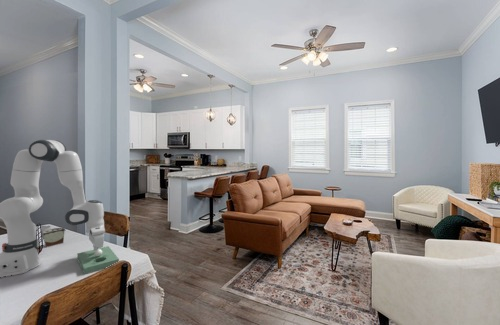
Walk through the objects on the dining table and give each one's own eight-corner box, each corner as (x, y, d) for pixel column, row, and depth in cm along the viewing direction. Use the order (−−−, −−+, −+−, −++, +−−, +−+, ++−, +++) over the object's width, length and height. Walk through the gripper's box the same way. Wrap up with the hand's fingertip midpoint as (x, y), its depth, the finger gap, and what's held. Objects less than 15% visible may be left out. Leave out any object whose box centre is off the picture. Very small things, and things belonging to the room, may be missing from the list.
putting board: (84, 274, 121) (84, 268, 121) (77, 258, 138) (77, 253, 138) (118, 264, 132) (118, 259, 132) (108, 250, 149) (108, 246, 149)
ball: (93, 248, 134) (92, 253, 135) (95, 254, 131) (94, 259, 133) (101, 246, 137) (100, 251, 138) (103, 251, 134) (102, 256, 136)
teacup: (47, 240, 166) (47, 229, 165) (24, 243, 161) (24, 231, 160) (54, 233, 179) (54, 223, 179) (33, 236, 174) (33, 225, 174)
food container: (62, 240, 166) (62, 226, 166) (65, 242, 163) (65, 228, 162) (40, 246, 156) (39, 231, 156) (42, 248, 153) (42, 233, 152)
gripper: (85, 224, 144) (86, 247, 145) (92, 233, 129) (93, 258, 130) (97, 222, 148) (98, 244, 149) (105, 230, 133) (106, 254, 134)
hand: (96, 250), depth 139 cm, fingers closed
